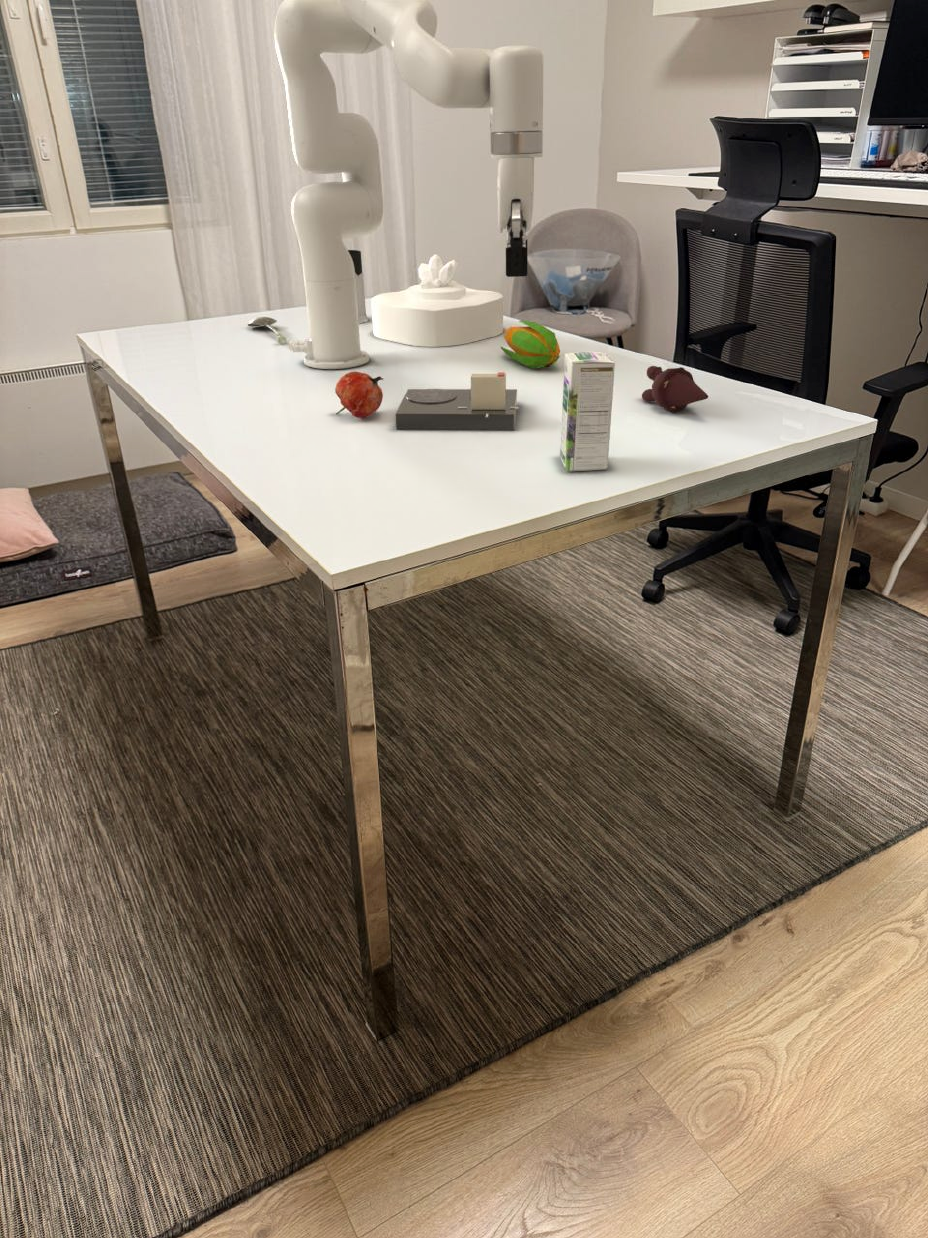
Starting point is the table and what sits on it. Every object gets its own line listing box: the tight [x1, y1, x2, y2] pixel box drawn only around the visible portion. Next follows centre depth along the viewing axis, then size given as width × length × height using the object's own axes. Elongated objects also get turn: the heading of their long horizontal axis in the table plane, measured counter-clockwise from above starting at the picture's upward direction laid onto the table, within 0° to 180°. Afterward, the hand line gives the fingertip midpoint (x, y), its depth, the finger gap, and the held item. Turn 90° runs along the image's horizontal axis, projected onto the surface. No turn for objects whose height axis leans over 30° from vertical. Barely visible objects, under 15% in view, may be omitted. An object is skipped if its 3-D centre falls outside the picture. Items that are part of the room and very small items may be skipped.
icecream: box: [641, 365, 709, 413], centre depth 145 cm, size 7×7×15 cm
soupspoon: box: [247, 316, 287, 345], centre depth 203 cm, size 22×3×7 cm
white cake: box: [370, 253, 504, 348], centre depth 198 cm, size 25×25×16 cm
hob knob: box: [470, 371, 507, 410], centre depth 140 cm, size 5×2×5 cm, turn 85°
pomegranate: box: [334, 371, 384, 419], centre depth 146 cm, size 7×7×10 cm
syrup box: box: [559, 351, 616, 472], centre depth 122 cm, size 6×6×14 cm
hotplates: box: [407, 388, 507, 404], centre depth 147 cm, size 16×8×1 cm, turn 85°
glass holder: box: [347, 249, 369, 324], centre depth 214 cm, size 9×14×15 cm, turn 171°
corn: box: [500, 319, 561, 370], centre depth 175 cm, size 7×8×20 cm
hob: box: [395, 388, 520, 431], centre depth 145 cm, size 19×16×3 cm
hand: (516, 271), depth 141 cm, fingers open, 9 cm apart
